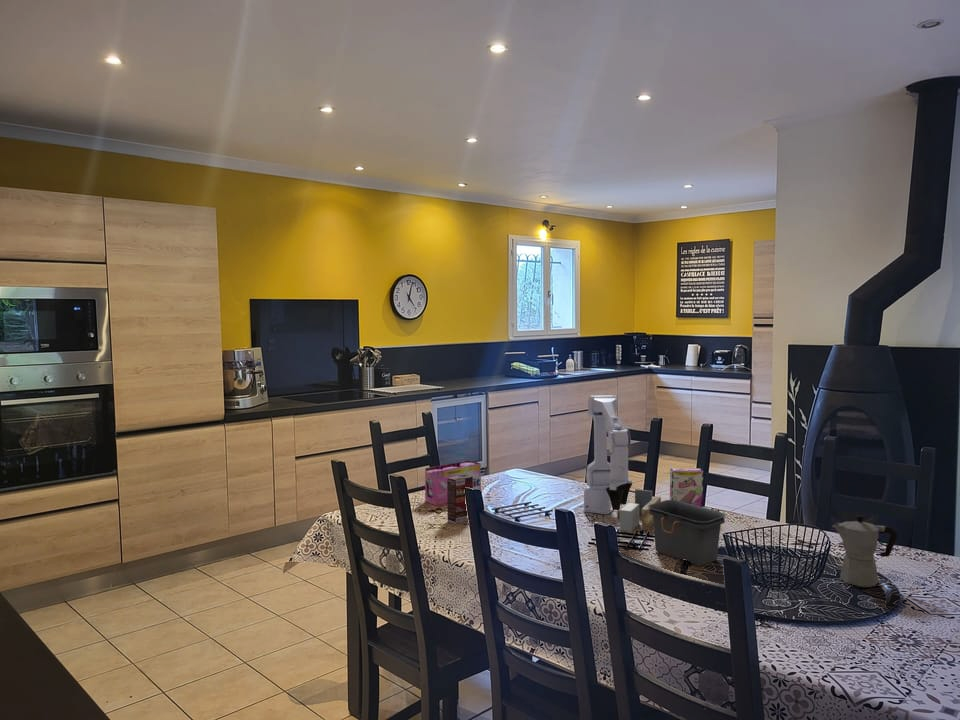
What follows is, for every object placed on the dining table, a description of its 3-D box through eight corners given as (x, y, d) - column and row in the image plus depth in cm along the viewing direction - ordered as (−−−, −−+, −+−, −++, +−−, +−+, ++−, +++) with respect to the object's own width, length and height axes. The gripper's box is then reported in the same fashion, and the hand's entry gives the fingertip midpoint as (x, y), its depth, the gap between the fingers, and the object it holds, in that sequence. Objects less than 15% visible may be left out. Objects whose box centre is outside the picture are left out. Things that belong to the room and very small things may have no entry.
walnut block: (617, 518, 246) (617, 510, 245) (622, 514, 251) (622, 506, 251) (625, 520, 244) (625, 511, 244) (630, 515, 249) (630, 507, 249)
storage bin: (730, 561, 202) (731, 513, 201) (698, 573, 193) (698, 523, 192) (671, 542, 219) (671, 498, 218) (639, 553, 210) (639, 507, 209)
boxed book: (619, 530, 233) (619, 509, 233) (628, 522, 242) (628, 502, 241) (631, 532, 231) (631, 511, 231) (639, 523, 240) (639, 503, 239)
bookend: (635, 514, 251) (635, 489, 251) (637, 511, 254) (637, 487, 253) (651, 516, 248) (651, 491, 248) (653, 513, 251) (653, 489, 251)
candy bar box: (671, 515, 249) (671, 470, 248) (669, 511, 254) (669, 467, 253) (703, 515, 248) (703, 470, 247) (700, 511, 253) (700, 467, 252)
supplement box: (455, 524, 242) (454, 480, 241) (447, 521, 245) (446, 477, 244) (474, 519, 247) (473, 476, 246) (465, 517, 251) (464, 474, 250)
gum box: (433, 506, 266) (432, 472, 265) (421, 502, 272) (421, 468, 271) (481, 496, 280) (481, 463, 280) (469, 492, 287) (469, 460, 286)
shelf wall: (641, 529, 233) (641, 508, 233) (655, 515, 249) (655, 496, 249) (647, 530, 232) (647, 509, 232) (660, 516, 248) (660, 496, 248)
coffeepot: (833, 584, 184) (834, 517, 183) (829, 571, 193) (830, 508, 192) (900, 591, 178) (901, 523, 177) (893, 578, 187) (894, 513, 186)
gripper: (624, 471, 218) (624, 513, 219) (637, 462, 231) (637, 502, 232) (603, 469, 222) (603, 511, 222) (616, 461, 234) (617, 500, 235)
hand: (619, 506), depth 227 cm, fingers open, 7 cm apart
